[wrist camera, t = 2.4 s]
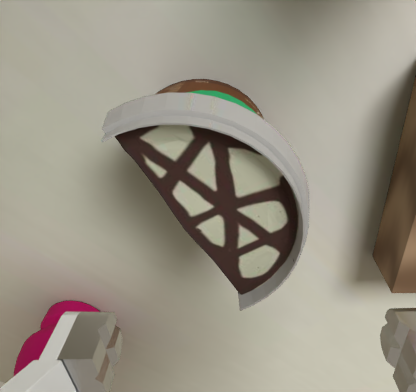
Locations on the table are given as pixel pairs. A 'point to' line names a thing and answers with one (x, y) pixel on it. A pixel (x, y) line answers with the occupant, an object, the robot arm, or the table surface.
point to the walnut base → (400, 214)
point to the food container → (221, 178)
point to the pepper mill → (47, 332)
